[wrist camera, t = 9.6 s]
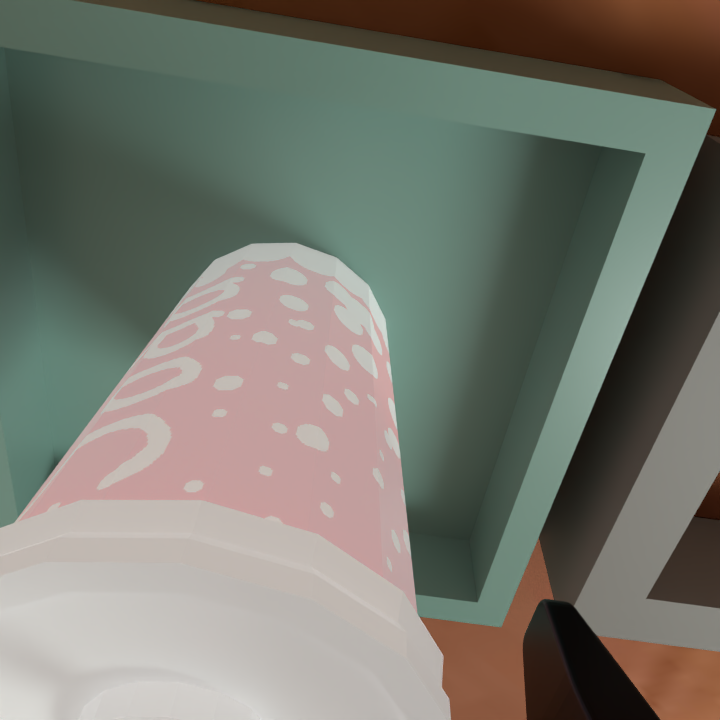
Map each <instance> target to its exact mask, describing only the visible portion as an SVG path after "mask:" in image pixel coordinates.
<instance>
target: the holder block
mask: <svg viewBox="0 0 720 720" xmlns="http://www.w3.org/2000/svg"><path fill="white" fill-rule="evenodd" d="M719 471H720V137H717V136H711V135H706V136H705V138H704V140H703V143H702V145H701V148H700V150H699V153H698V155H697V157H696V160H695V162H694V165H693V167H692V169H691V172H690V174H689V177H688V179H687V181H686V184H685V186H684V189H683V191H682V193H681V196H680V198H679V201H678V203H677V205H676V208H675V210H674V213H673V215H672V217H671V220H670V222H669V225H668V227H667V230H666V232H665V234H664V237H663V239H662V242H661V244H660V246H659V249H658V251H657V254H656V256H655V258H654V261H653V263H652V266H651V268H650V270H649V273H648V275H647V278H646V280H645V282H644V285H643V287H642V290H641V292H640V294H639V297H638V299H637V302H636V304H635V307H634V309H633V311H632V314H631V316H630V319H629V321H628V323H627V326H626V328H625V331H624V333H623V335H622V338H621V340H620V343H619V345H618V347H617V350H616V352H615V355H614V357H613V359H612V362H611V364H610V367H609V369H608V371H607V374H606V376H605V379H604V381H603V384H602V386H601V388H600V391H599V393H598V396H597V398H596V400H595V403H594V405H593V408H592V410H591V412H590V415H589V417H588V420H587V422H586V424H585V427H584V429H583V432H582V434H581V436H580V439H579V441H578V444H577V446H576V448H575V451H574V453H573V456H572V458H571V461H570V463H569V465H568V468H567V470H566V473H565V475H564V477H563V480H562V482H561V485H560V487H559V489H558V492H557V494H556V497H555V499H554V501H553V504H552V506H551V509H550V511H549V513H548V516H547V518H546V521H545V523H544V525H543V528H542V530H541V533H540V535H539V540H540V544H541V548H542V552H543V556H544V560H545V565H546V569H547V573H548V577H549V581H550V585H551V589H552V593H553V597H554V600H557V601H565V602H568V603H570V604H572V605H573V606H574V607H575V608H576V609H577V610H578V612H579V613H580V614H581V616H582V617H583V618H584V620H585V621H586V622H587V624H588V625H589V626H590V628H591V629H592V630H593V632H594V633H595V634H596V635H597V636H604V637H612V638H619V639H627V640H635V641H642V642H650V643H658V644H665V645H673V646H680V647H688V648H696V649H703V650H711V651H719V652H720V520H714V519H707V518H700V517H693V516H694V515H695V513H696V511H697V509H698V508H699V506H700V504H701V502H702V501H703V499H704V497H705V495H706V494H707V492H708V490H709V489H710V487H711V485H712V483H713V482H714V480H715V478H716V476H717V475H718V473H719Z"/></svg>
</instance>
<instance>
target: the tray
mask: <svg viewBox="0 0 720 720" xmlns="http://www.w3.org/2000/svg"><path fill="white" fill-rule="evenodd" d="M715 112H716V109H715V108H713V107H711V106H709V105H707V104H705V103H704V102H702V101H700V100H698V99H696V98H694V97H692V96H690V95H688V94H687V93H685V92H683V91H681V90H679V89H677V88H675V87H673V86H671V85H670V84H668V83H666V82H664V81H662V80H659V79H653V78H647V77H641V76H635V75H629V74H624V73H618V72H612V71H606V70H600V69H594V68H588V67H583V66H577V65H571V64H565V63H559V62H553V61H547V60H542V59H536V58H530V57H524V56H518V55H512V54H506V53H501V52H495V51H489V50H483V49H477V48H471V47H465V46H460V45H454V44H448V43H442V42H436V41H430V40H424V39H418V38H413V37H407V36H401V35H395V34H389V33H383V32H377V31H372V30H366V29H360V28H354V27H348V26H342V25H336V24H331V23H325V22H319V21H313V20H307V19H301V18H295V17H290V16H284V15H278V14H272V13H266V12H260V11H254V10H249V9H243V8H237V7H231V6H225V5H219V4H213V3H208V2H202V1H196V0H0V528H1V527H4V526H7V525H10V524H13V523H14V522H15V521H16V520H17V518H18V517H19V516H20V514H21V513H22V512H23V510H24V509H25V508H26V506H27V505H28V504H29V502H30V501H31V500H32V498H33V497H34V496H35V494H36V493H37V492H38V490H39V489H40V488H41V486H42V485H43V484H44V482H45V481H46V480H47V478H48V477H49V476H50V474H51V473H52V472H53V470H54V469H55V468H56V466H57V465H58V464H59V462H60V461H61V460H62V458H63V457H64V456H65V454H66V453H67V452H68V450H69V449H70V448H71V446H72V445H73V444H74V442H75V441H76V440H77V438H78V437H79V436H80V434H81V433H82V432H83V430H84V429H85V427H86V426H87V425H88V423H89V422H90V421H91V419H92V418H93V417H94V415H95V414H96V413H97V411H98V410H99V409H100V407H101V406H102V405H103V403H104V402H105V401H106V399H107V398H108V397H109V395H110V394H111V393H112V391H113V390H114V389H115V387H116V386H117V385H118V383H119V382H120V381H121V379H122V378H123V377H124V375H125V374H126V373H127V371H128V370H129V369H130V367H131V366H132V365H133V363H134V362H135V361H136V359H137V358H138V357H139V355H140V354H141V353H142V351H143V350H144V349H145V347H146V346H147V345H148V343H149V342H150V341H151V339H152V338H153V337H154V335H155V334H156V332H157V331H158V330H159V328H160V327H161V326H162V324H163V323H164V322H165V320H166V319H167V318H168V316H169V315H170V314H171V312H172V311H173V310H174V308H175V307H176V306H177V304H178V303H179V302H180V300H181V299H182V298H183V296H184V295H185V294H186V292H187V291H188V290H189V288H190V287H191V286H192V285H193V284H194V283H195V281H196V280H197V279H198V278H199V277H200V276H201V275H202V274H203V272H204V271H205V270H206V269H207V268H208V267H209V266H210V265H211V264H212V262H213V261H214V260H215V259H218V258H220V257H222V256H225V255H227V254H229V253H232V252H234V251H236V250H239V249H241V248H243V247H245V246H248V245H250V244H256V243H298V244H300V245H303V246H306V247H309V248H311V249H314V250H317V251H320V252H323V253H325V254H328V255H331V256H334V257H336V258H338V259H339V260H340V261H341V262H343V263H344V264H345V265H346V266H347V267H348V268H349V269H351V270H352V271H353V272H354V273H355V274H356V275H358V276H359V277H360V278H361V279H362V280H363V281H364V282H366V283H367V284H368V285H369V287H370V289H371V291H372V293H373V295H374V297H375V299H376V301H377V303H378V305H379V307H380V309H381V311H382V313H383V315H384V318H385V320H386V329H387V338H388V348H389V357H390V366H391V375H392V384H393V394H394V403H395V412H396V421H397V430H398V440H399V449H400V458H401V467H402V477H403V486H404V495H405V504H406V513H407V523H408V532H409V541H410V550H411V559H412V569H413V578H414V587H415V596H416V605H417V614H418V616H419V617H426V618H434V619H442V620H449V621H457V622H465V623H472V624H480V625H488V626H495V627H502V624H503V622H504V619H505V617H506V614H507V612H508V610H509V607H510V605H511V602H512V600H513V598H514V595H515V593H516V590H517V588H518V586H519V583H520V581H521V578H522V576H523V574H524V571H525V569H526V566H527V564H528V562H529V559H530V557H531V554H532V552H533V550H534V547H535V545H536V542H537V540H538V538H539V535H540V533H541V530H542V528H543V525H544V523H545V521H546V518H547V516H548V513H549V511H550V509H551V506H552V504H553V501H554V499H555V497H556V494H557V492H558V489H559V487H560V485H561V482H562V480H563V477H564V475H565V473H566V470H567V468H568V465H569V463H570V461H571V458H572V456H573V453H574V451H575V448H576V446H577V444H578V441H579V439H580V436H581V434H582V432H583V429H584V427H585V424H586V422H587V420H588V417H589V415H590V412H591V410H592V408H593V405H594V403H595V400H596V398H597V396H598V393H599V391H600V388H601V386H602V384H603V381H604V379H605V376H606V374H607V371H608V369H609V367H610V364H611V362H612V359H613V357H614V355H615V352H616V350H617V347H618V345H619V343H620V340H621V338H622V335H623V333H624V331H625V328H626V326H627V323H628V321H629V319H630V316H631V314H632V311H633V309H634V307H635V304H636V302H637V299H638V297H639V294H640V292H641V290H642V287H643V285H644V282H645V280H646V278H647V275H648V273H649V270H650V268H651V266H652V263H653V261H654V258H655V256H656V254H657V251H658V249H659V246H660V244H661V242H662V239H663V237H664V234H665V232H666V230H667V227H668V225H669V222H670V220H671V217H672V215H673V213H674V210H675V208H676V205H677V203H678V201H679V198H680V196H681V193H682V191H683V189H684V186H685V184H686V181H687V179H688V177H689V174H690V172H691V169H692V167H693V165H694V162H695V160H696V157H697V155H698V153H699V150H700V148H701V145H702V143H703V140H704V138H705V136H706V133H707V131H708V128H709V126H710V124H711V121H712V119H713V116H714V114H715Z"/></svg>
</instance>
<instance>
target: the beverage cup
mask: <svg viewBox="0 0 720 720" xmlns="http://www.w3.org/2000/svg"><path fill="white" fill-rule="evenodd" d="M442 673H443V654H442V653H441V651H440V650H439V648H438V646H437V645H436V643H435V642H434V640H433V638H432V637H431V635H430V634H429V632H428V630H427V629H426V627H425V625H424V624H423V622H422V621H421V619H420V617H419V616H418V614H417V605H416V596H415V587H414V578H413V569H412V559H411V550H410V541H409V532H408V523H407V513H406V504H405V495H404V486H403V477H402V467H401V458H400V449H399V440H398V430H397V421H396V412H395V403H394V394H393V384H392V375H391V366H390V357H389V348H388V338H387V329H386V320H385V318H384V315H383V313H382V311H381V309H380V307H379V305H378V303H377V301H376V299H375V297H374V295H373V293H372V291H371V289H370V287H369V285H368V284H367V283H366V282H364V281H363V280H362V279H361V278H360V277H359V276H358V275H356V274H355V273H354V272H353V271H352V270H351V269H349V268H348V267H347V266H346V265H345V264H344V263H343V262H341V261H340V260H339V259H338V258H336V257H334V256H331V255H328V254H325V253H323V252H320V251H317V250H314V249H311V248H309V247H306V246H303V245H300V244H298V243H256V244H250V245H248V246H245V247H243V248H241V249H239V250H236V251H234V252H232V253H229V254H227V255H225V256H222V257H220V258H218V259H215V260H214V261H213V262H212V264H211V265H210V266H209V267H208V268H207V269H206V270H205V271H204V272H203V274H202V275H201V276H200V277H199V278H198V279H197V280H196V281H195V283H194V284H193V285H192V286H191V287H190V288H189V290H188V291H187V292H186V294H185V295H184V296H183V298H182V299H181V300H180V302H179V303H178V304H177V306H176V307H175V308H174V310H173V311H172V312H171V314H170V315H169V316H168V318H167V319H166V320H165V322H164V323H163V324H162V326H161V327H160V328H159V330H158V331H157V332H156V334H155V335H154V337H153V338H152V339H151V341H150V342H149V343H148V345H147V346H146V347H145V349H144V350H143V351H142V353H141V354H140V355H139V357H138V358H137V359H136V361H135V362H134V363H133V365H132V366H131V367H130V369H129V370H128V371H127V373H126V374H125V375H124V377H123V378H122V379H121V381H120V382H119V383H118V385H117V386H116V387H115V389H114V390H113V391H112V393H111V394H110V395H109V397H108V398H107V399H106V401H105V402H104V403H103V405H102V406H101V407H100V409H99V410H98V411H97V413H96V414H95V415H94V417H93V418H92V419H91V421H90V422H89V423H88V425H87V426H86V427H85V429H84V430H83V432H82V433H81V434H80V436H79V437H78V438H77V440H76V441H75V442H74V444H73V445H72V446H71V448H70V449H69V450H68V452H67V453H66V454H65V456H64V457H63V458H62V460H61V461H60V462H59V464H58V465H57V466H56V468H55V469H54V470H53V472H52V473H51V474H50V476H49V477H48V478H47V480H46V481H45V482H44V484H43V485H42V486H41V488H40V489H39V490H38V492H37V493H36V494H35V496H34V497H33V498H32V500H31V501H30V502H29V504H28V505H27V506H26V508H25V509H24V510H23V512H22V513H21V514H20V516H19V517H18V518H17V520H16V521H15V522H14V523H13V524H10V525H7V526H4V527H1V528H0V720H451V716H450V703H449V698H448V696H447V695H446V693H445V692H444V690H443V689H442Z"/></svg>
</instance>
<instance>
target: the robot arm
mask: <svg viewBox="0 0 720 720" xmlns="http://www.w3.org/2000/svg"><path fill="white" fill-rule="evenodd" d="M523 664H524V680H525V697H526V714H527V720H660V719H659V717H658V716H657V715H656V713H655V712H654V711H653V709H652V708H651V707H650V705H649V704H648V703H647V701H646V700H645V699H644V697H643V696H642V695H641V694H640V692H639V691H638V690H637V688H636V687H635V686H634V684H633V683H632V682H631V680H630V679H629V678H628V676H627V675H626V674H625V672H624V671H623V670H622V668H621V667H620V666H619V665H618V663H617V662H616V661H615V659H614V658H613V657H612V655H611V654H610V653H609V651H608V650H607V649H606V647H605V646H604V645H603V643H602V642H601V641H600V639H599V638H598V637H597V636H596V634H595V633H594V632H593V630H592V629H591V628H590V626H589V625H588V624H587V622H586V621H585V620H584V618H583V617H582V616H581V614H580V613H579V612H578V610H577V609H576V608H575V607H574V606H573V605H572V604H570V603H568V602H565V601H557V600H550V599H544V600H542V601H541V602H540V603H539V604H538V606H537V608H536V610H535V613H534V615H533V617H532V619H531V621H530V624H529V626H528V628H527V630H526V633H525V636H524V640H523Z"/></svg>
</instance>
